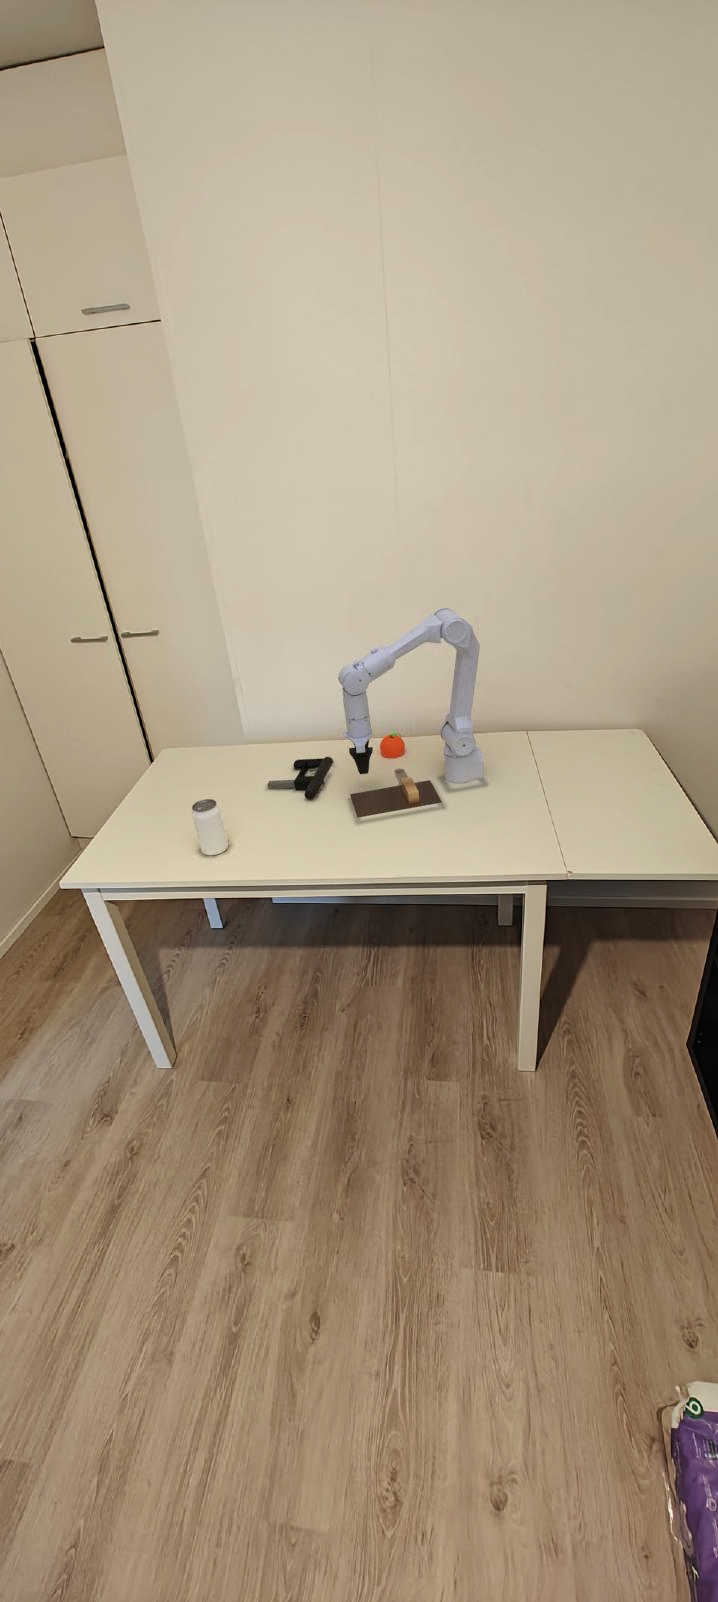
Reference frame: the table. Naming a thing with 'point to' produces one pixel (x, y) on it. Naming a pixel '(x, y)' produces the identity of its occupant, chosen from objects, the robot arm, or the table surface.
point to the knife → (407, 786)
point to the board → (392, 799)
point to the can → (209, 827)
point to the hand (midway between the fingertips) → (363, 766)
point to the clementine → (392, 746)
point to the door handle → (306, 782)
